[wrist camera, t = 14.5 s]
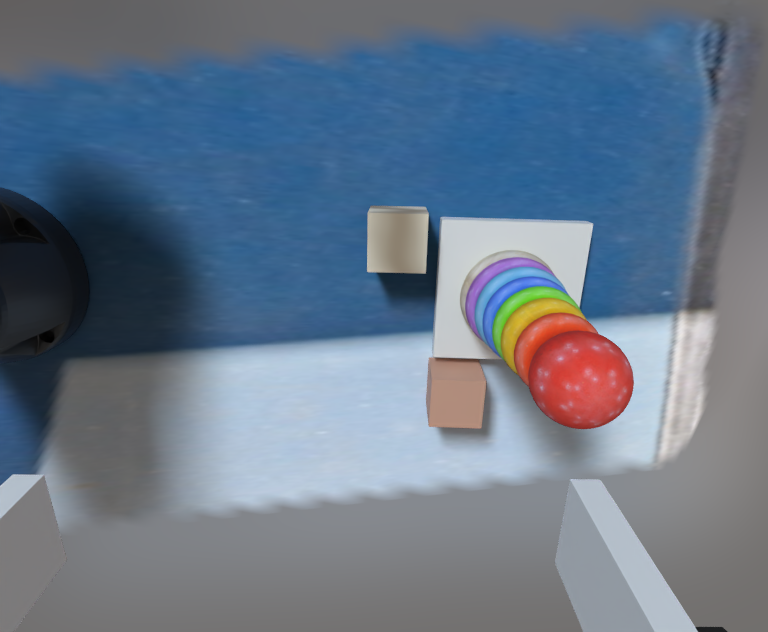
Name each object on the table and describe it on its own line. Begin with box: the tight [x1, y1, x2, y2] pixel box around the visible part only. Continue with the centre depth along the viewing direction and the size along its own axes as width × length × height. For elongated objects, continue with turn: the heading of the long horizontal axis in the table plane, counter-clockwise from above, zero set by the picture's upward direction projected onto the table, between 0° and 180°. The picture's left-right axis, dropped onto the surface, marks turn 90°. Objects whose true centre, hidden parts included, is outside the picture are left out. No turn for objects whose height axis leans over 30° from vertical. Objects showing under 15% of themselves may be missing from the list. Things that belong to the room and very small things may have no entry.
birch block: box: [367, 206, 429, 274], centre depth 39 cm, size 4×4×4 cm
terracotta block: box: [426, 358, 486, 429], centre depth 43 cm, size 4×4×4 cm
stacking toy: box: [460, 250, 634, 429], centre depth 32 cm, size 8×8×19 cm
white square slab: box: [432, 217, 593, 360], centre depth 42 cm, size 12×12×2 cm
